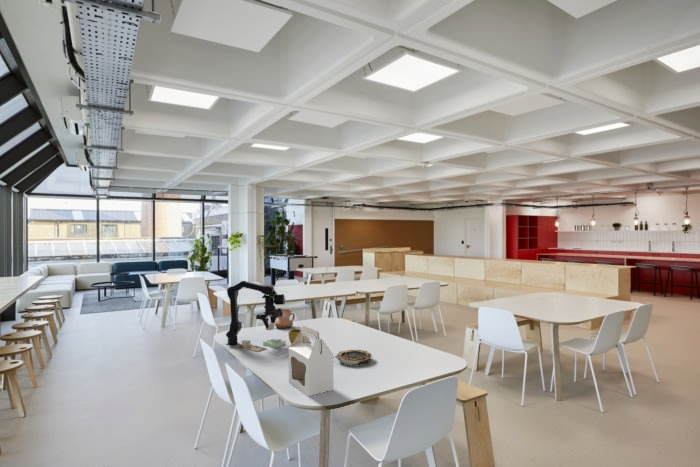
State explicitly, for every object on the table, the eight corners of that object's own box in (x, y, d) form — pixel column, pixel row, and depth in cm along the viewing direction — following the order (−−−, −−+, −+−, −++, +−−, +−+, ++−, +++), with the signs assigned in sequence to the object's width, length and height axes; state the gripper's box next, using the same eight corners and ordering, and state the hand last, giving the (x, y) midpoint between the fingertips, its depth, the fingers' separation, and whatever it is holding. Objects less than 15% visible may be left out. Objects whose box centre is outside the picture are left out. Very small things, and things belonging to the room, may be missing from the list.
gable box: (288, 382, 197) (288, 326, 197) (311, 376, 204) (311, 323, 205) (309, 397, 178) (308, 335, 179) (333, 390, 186) (333, 331, 186)
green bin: (263, 345, 264) (263, 341, 264) (273, 342, 271) (273, 338, 271) (274, 348, 257) (274, 343, 257) (285, 345, 264) (285, 340, 264)
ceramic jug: (276, 330, 306) (277, 312, 306) (270, 326, 319) (271, 309, 319) (298, 328, 316) (298, 310, 316) (291, 324, 328) (291, 307, 328)
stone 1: (241, 346, 260) (241, 340, 260) (246, 345, 263) (246, 339, 263) (245, 347, 257) (245, 341, 257) (250, 346, 260) (250, 340, 260)
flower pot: (300, 346, 262) (300, 332, 262) (288, 345, 264) (288, 332, 264) (304, 342, 271) (304, 329, 271) (292, 342, 273) (292, 329, 273)
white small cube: (265, 329, 263) (265, 323, 263) (269, 328, 267) (269, 322, 267) (270, 330, 261) (270, 324, 261) (274, 329, 265) (274, 323, 265)
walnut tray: (238, 347, 259) (238, 346, 259) (247, 345, 265) (247, 343, 265) (257, 352, 247) (257, 351, 247) (266, 350, 253) (266, 348, 253)
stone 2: (272, 345, 262) (272, 339, 262) (277, 344, 265) (277, 338, 265) (276, 346, 260) (276, 340, 260) (281, 345, 263) (281, 339, 263)
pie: (386, 362, 230) (386, 353, 230) (353, 374, 210) (353, 364, 210) (353, 352, 250) (353, 344, 250) (320, 362, 230) (320, 353, 230)
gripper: (266, 307, 252) (266, 332, 252) (287, 303, 267) (288, 326, 267) (255, 306, 259) (255, 329, 259) (276, 302, 274) (277, 324, 273)
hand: (269, 327), depth 264 cm, fingers closed on white small cube, 4 cm apart
